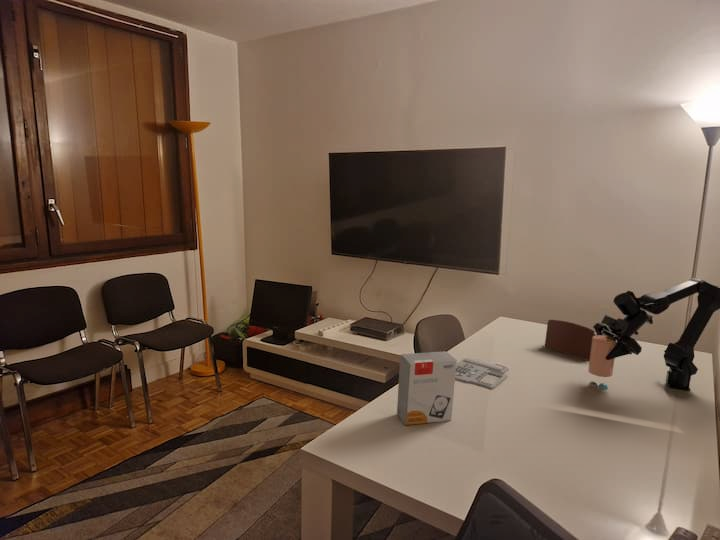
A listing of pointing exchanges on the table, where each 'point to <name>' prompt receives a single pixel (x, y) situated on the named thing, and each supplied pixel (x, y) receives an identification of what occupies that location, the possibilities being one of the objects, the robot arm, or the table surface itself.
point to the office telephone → (479, 371)
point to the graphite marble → (593, 384)
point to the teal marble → (603, 386)
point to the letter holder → (569, 338)
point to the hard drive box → (426, 387)
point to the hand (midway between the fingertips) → (598, 354)
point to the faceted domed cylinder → (601, 356)
